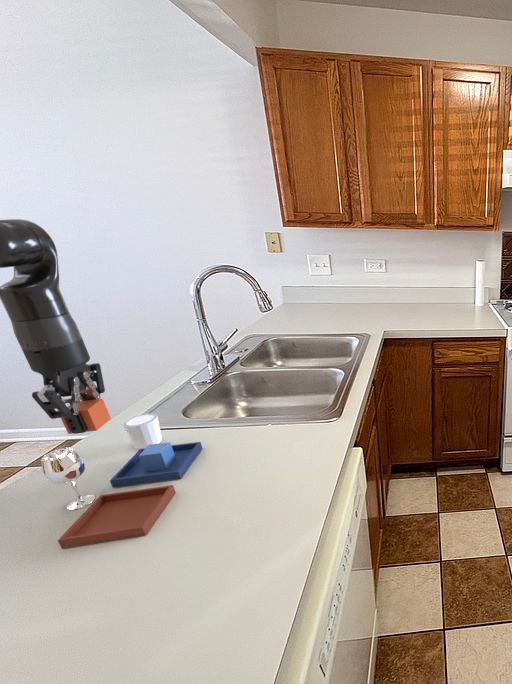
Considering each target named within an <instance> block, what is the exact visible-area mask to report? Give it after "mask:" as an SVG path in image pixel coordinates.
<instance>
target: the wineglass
mask: <svg viewBox="0 0 512 684" xmlns="http://www.w3.org/2000/svg"><path fill="white" fill-rule="evenodd" d="M40 461H41V469H42V473H43V476H44V477H45V479H46V480H47V481H48V482H50V483H51V484H55V485H64V484H68V485H69V488H70V489H71V490H72V491H73V492H74V494H75V496H76V498H75V499H73V500H71V501H70V502H69V503H68V504H67V505H66V509H67V511H74V510H79V509H82V508H85V507H87V506H90V505H91V504H93V503H94V502H95V499H97V498H96V497H97V496H96V495H95V494H85V495H82V496H81V495H80V493H79V490H78V487H77V482H76V480H77V479H80V478H81V477H82V476H83V475H84V473H85V472H86V469H87V466H86V461H85V460H84V459H83V457H82V455H81V454H80V453H79V452H78V451H77V450H76V449H75V448H74V447H71V446H70V447H62V448H58V449H55V450H52V451H50V452H48V453H46V454H44V455H43V456H42V457H41V459H40Z"/></svg>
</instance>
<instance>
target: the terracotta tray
mask: <svg viewBox="0 0 512 684" xmlns="http://www.w3.org/2000/svg"><path fill="white" fill-rule="evenodd" d="M176 493H177V491H176V489H175V486H174V484H171V485H163V486H157V487H156V486H155V487H148V488H141V489H134V490H133V489H132V490H126V491H119V492H111V493H104V494H100V495H99V496H98V497H97V498H95V499H96V500H94V501H93V502H92V503H91V504H90V505H89V507H88V508H87V509H86V510H85V511H84V512H83V513H82V514H80V515H79V517H78V518H77V519H76V520H75V521H74V523H73V524H71V526H69V528H68V529H66V531H65V532H64V533H63V534H62V535H61V536H60V537H59V538H58V539H57V543H58V544H59V546H60V548H61V549H62V550H64V549H67V548H68V549H69V548H75V547H81V546H88V545H95V544H100V543H101V544H102V543H108V542H112V541H113V542H114V541H121V540H125V539H133V538H139V537H145V536H147V535H148V533H149V531H150V530H151V529H152V527H153V526H154V525H155V523H156V521H157V520H158V519H159V517H160V516H161V514H162V513H163V512H164V510H165V508H166V507H167V506H168V504H169V503H170V502H171V500H172V499H173V497H174V496H175V494H176Z"/></svg>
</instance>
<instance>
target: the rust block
mask: <svg viewBox="0 0 512 684" xmlns="http://www.w3.org/2000/svg"><path fill="white" fill-rule="evenodd" d="M78 405H79V411H80V413H81V414H82V417H83V419H84V421H85V423H86V426H87V428H88V430H87V431H86V432H85V433H88V432H89V433H90V432H96V431H97V432H98V430H99V429H101V428H102V427H103V426H105V425H106V423H108V422H109V421H110V420H112V418H111V414H110V412H109V410H108V408H107V405H106V403H105V401H104V399H103V398H100V399H96V400H86V401H82V400H80V401H79V402H78ZM67 407H68V409H71V407H70V404H69V405H67ZM60 420H61V422H62V424H63V426H64V429H65V430H66V432H67V434H68V435H71V434H72V435H73V433H72V432H71V431H70V430H69V428H68V426H67V424H66V422H65V419H64V418H60Z"/></svg>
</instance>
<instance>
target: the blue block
mask: <svg viewBox="0 0 512 684" xmlns="http://www.w3.org/2000/svg"><path fill="white" fill-rule="evenodd" d="M172 445H173V444H172V443H171V442H170V441H169V442H160V443H159V444H151V445H148V446H147V447H146V448H145V449H144V451H143V452H142V453H141V454H140V455H139V458H140V461H141V463H142V466H143V469H144V471H145V472H149V471H156V470H164V469H167V468H168V467H169V466H170V465H171V463H172V462H173V461H174V460H175V458H176V457H175V454H174V451H173V448H172Z"/></svg>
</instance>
